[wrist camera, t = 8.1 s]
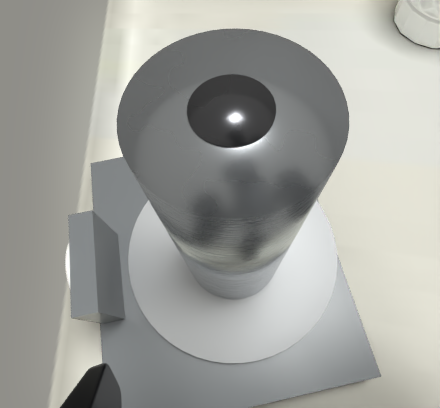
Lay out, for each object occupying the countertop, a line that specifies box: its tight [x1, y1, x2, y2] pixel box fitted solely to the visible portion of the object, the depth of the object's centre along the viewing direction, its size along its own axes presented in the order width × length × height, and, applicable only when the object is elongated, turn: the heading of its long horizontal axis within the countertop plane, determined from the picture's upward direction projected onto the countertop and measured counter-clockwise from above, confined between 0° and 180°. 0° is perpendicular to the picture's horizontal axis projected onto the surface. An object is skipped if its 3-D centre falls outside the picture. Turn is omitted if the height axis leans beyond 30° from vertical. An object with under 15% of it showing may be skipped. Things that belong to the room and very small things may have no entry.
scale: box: [65, 157, 381, 408], centre depth 19 cm, size 16×14×6 cm
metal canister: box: [117, 29, 349, 300], centre depth 13 cm, size 5×5×13 cm
